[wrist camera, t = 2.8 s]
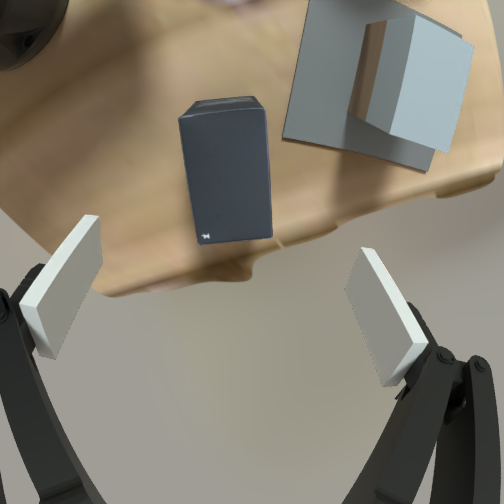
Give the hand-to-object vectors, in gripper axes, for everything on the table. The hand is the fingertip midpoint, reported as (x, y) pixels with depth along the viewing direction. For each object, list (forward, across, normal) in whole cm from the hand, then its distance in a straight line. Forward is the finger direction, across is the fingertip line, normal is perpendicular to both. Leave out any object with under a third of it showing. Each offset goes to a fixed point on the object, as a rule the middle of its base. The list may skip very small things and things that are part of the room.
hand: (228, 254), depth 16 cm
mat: (+19, +14, +11) cm, 26 cm away
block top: (+14, +14, +11) cm, 23 cm away
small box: (+20, 0, 0) cm, 20 cm away
